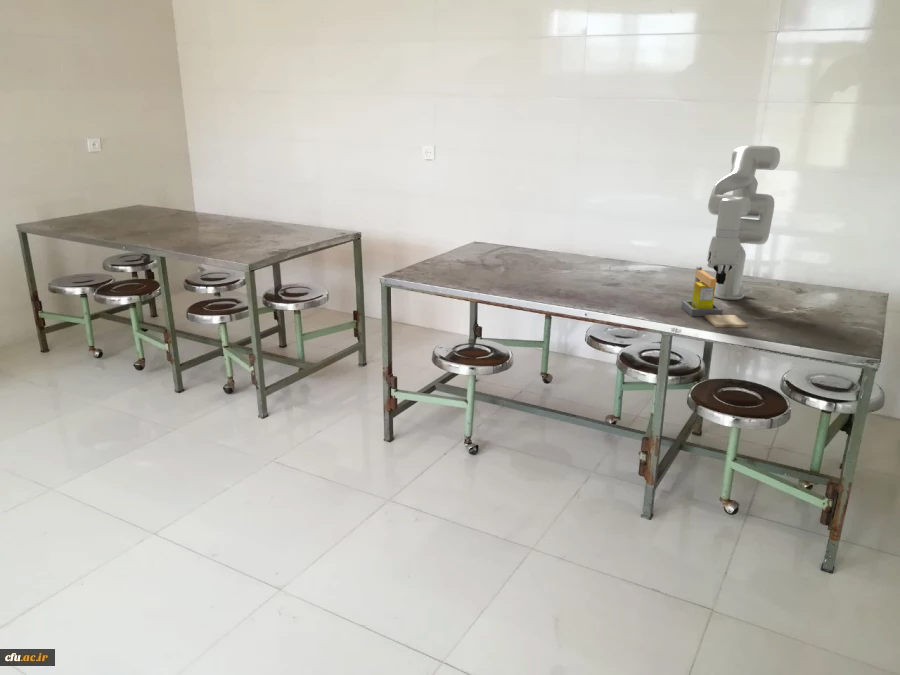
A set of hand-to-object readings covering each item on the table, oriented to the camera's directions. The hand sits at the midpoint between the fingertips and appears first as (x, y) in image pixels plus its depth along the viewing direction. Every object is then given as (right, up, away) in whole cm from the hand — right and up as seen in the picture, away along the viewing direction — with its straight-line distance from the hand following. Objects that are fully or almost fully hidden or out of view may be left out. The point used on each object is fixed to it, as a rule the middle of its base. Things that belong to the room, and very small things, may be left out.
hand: (719, 283), depth 247 cm
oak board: (0, -14, -4) cm, 15 cm away
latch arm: (-4, -10, +8) cm, 13 cm away
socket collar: (-4, -10, +8) cm, 13 cm away
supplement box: (-4, -10, +8) cm, 14 cm away
